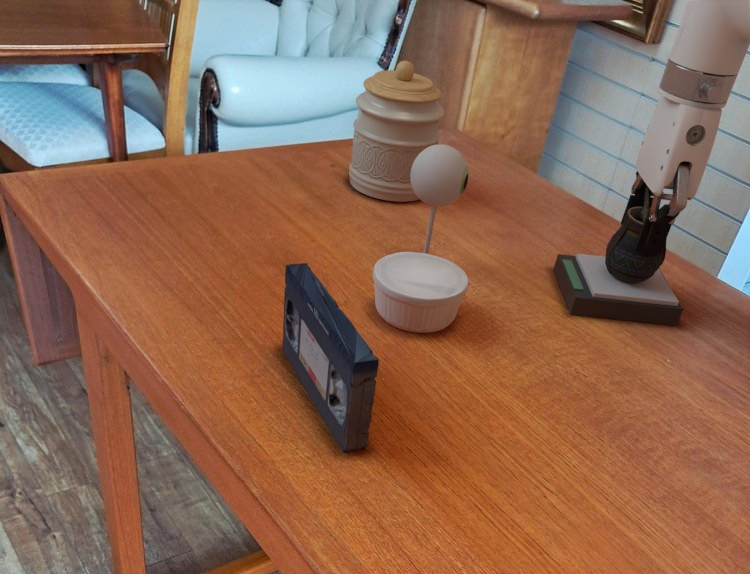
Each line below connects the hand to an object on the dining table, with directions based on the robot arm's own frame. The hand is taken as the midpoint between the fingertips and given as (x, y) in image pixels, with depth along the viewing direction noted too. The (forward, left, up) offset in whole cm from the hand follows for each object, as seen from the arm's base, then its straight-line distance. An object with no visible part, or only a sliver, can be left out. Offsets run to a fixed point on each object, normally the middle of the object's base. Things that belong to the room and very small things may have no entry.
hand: (639, 238), depth 99 cm
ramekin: (+28, +10, -8) cm, 31 cm away
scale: (+1, 0, -8) cm, 8 cm away
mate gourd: (0, 0, -5) cm, 5 cm away
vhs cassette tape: (+38, +29, -8) cm, 48 cm away
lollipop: (+26, -4, -8) cm, 27 cm away
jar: (+30, -29, -8) cm, 42 cm away
